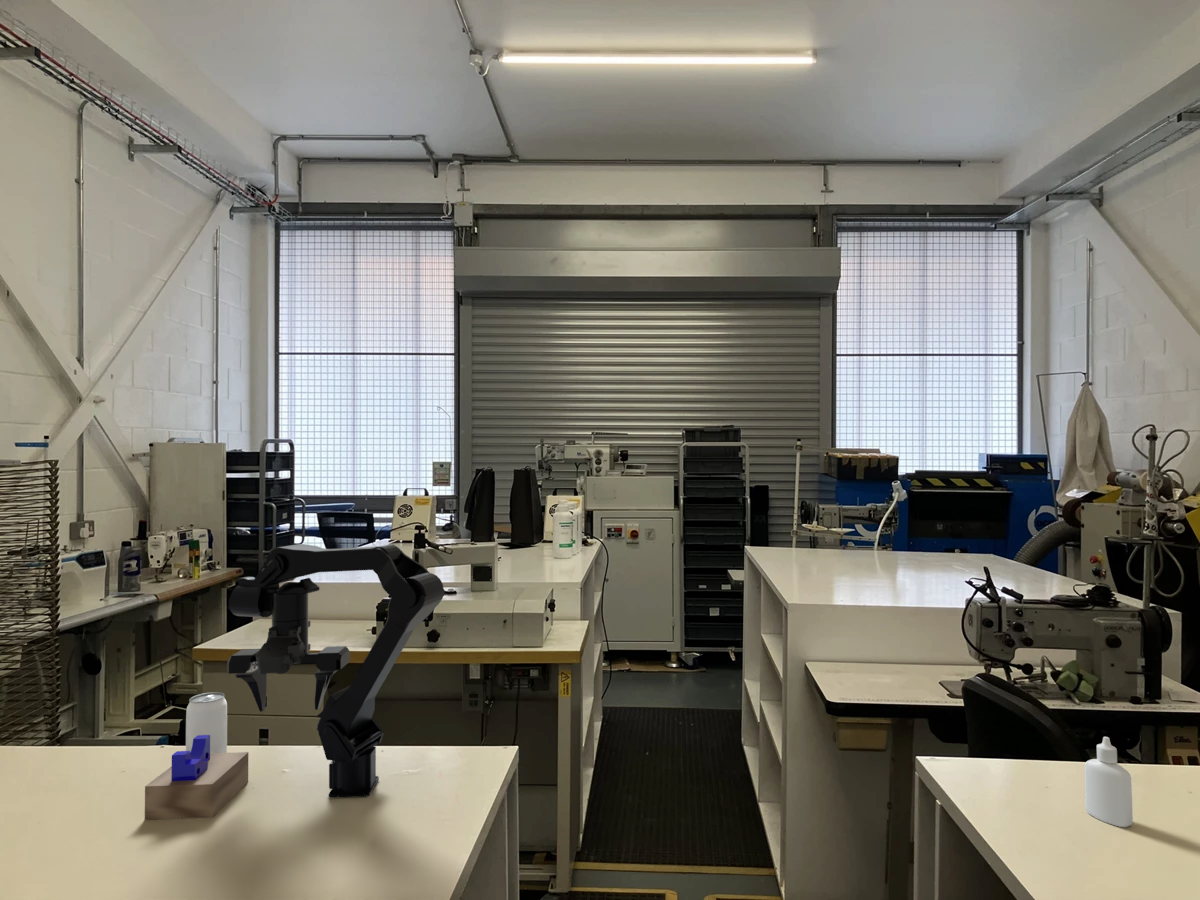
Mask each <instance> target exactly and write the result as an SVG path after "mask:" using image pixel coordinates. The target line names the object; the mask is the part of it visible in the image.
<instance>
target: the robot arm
mask: <svg viewBox="0 0 1200 900" xmlns="http://www.w3.org/2000/svg"><path fill="white" fill-rule="evenodd" d="M355 571H373V572H374V573H375V574H376V575H377V577H378V580H379V582H380V584H381V587H382V589H383V590H384V591H385V592H386V593H387V594H388V595H389V597H390V600H389V602H388V605H387V619H386V622H385V624H384V625H383V627H382V629H381V631H380V632H379V634H378V636H377V638H376V639H375V641H374V643H373V644H372V647H371V648H370V650H369V652H368V653H367V656H366V657H365V659H364V660H363V662H362V663H361V666H360V668H359V669H358V671H357V672H356V674H355V676H354V678H353V679H352V682H351V683H350V685H349V686H347V687H345V688H343V689H341V690H339V691H337V692H335V693H333V694H331V695H330V696H328V697H327V700H326V702H325V705H324V707H323V709H322V710H321V712H320V713H319V714H318V715H317V718H319V719H318V722H317V725H316V731H318V736H319V738H320V743H321V745H322V749H323V752H324V755H325V758H326V760H327V761H331V762H330V763H329V764H328V788H329V790H330V791H329V793H328V798H331V799H332V798H355V797H363V798H364V797H368V796H370V795H371V793H372V792H373V789H374V788H375V786H376V785H377V783H378V781H379V778H380V777H379V776H378V775H377V772H376V771H377V770H376V769H377V767H376V766H377V765H376V764H377V761H376V759H377V757H376V755H377V754H376V753H377V749H376V748H377V747H376V745H378V744H381V742H382V740H383V736H384V734H385V733H384V731H385V730H383V728H382V727H381V726H380V725H379V724H378V723H377V721H376V720H375V719H374V717H373V715H374V713H375V710H376V709H375V708H376V707H375V706H376V701H375V700H376V696H377V694H378V692H379V691H380V689H381V688H382V685H383V684H384V682H385V681H386V679H387V677H388V675H390V674H389V673H390V672H391V670H392V668H393V667H394V665H395V663H396V662H397V659H398V658H399V656H400V655H401V653H402V651H403V649H404V647H405V646H406V644H407V642H408V640H409V639H410V637H411V636H412V634H413V632H414V630H415V629H416V627H418V626H419V625H420V624H421V623H422V622H423V621H424V620H426V618H427V617H429V615H430V614H432V612H433V611H434V610H435V609H436V608H437V606H439V604H440V603H441V602H442V601H443V598H444V596H445V593H446V592H445V588H444V584H443V582H442V579H441V578H440V577H439V576H438V575H436V574H434V573H432V572H430V571H429V570H428V569H427V568H426V567H425V566H424V565H423V564H421V563H419V562H418V561H416V560H415V559H413V558H411V556H408V555H407V554H405V553H404V551H403V550H401V548H399V547H398V546H397V545H395V544H384V545H379V546H366V547H365V546H364V547H363V546H362V547H345V548H341V547H340V548H324V547H321V546H317V545H311V544H307V543H306V544H305V543H299V544H298V543H297V544H291V545H285V546H278V547H274V548H271V549H270V551H269V553H268V554H267V557H266V559H265V561H264V564H263V566H262V567H261V568H260V570H259V571H258V572H257V574H256V576H255V577H254V576H244V577H239V578H238V582H237V583H238V585H237V586H235V587H234V588H233V590H232V592H231V594H230V597H229V598H228V608H229V611H230V612H231V613H232V615H234V616H237V617H251V618H253V617H254V618H269V617H271V627H269V628H268V632H267V639H266V641H265V642H264V643H263V644H262V646H261V647H260V648H242V649H241V650H239V651H237V652H236V653H235V652H234V653H233V654H232V655H231V656H229V658H228V660H227V663H226V673H227V674H229V675H230V674H235V675H234V676H235V678H237V679H241V680H243V681H244V682H245V683H246V684H247V685H248V687H249V689H250V690H251V691H250V692H251V693H252V695H253V697H254V701H255V703H256V705H257V708H258V711H259V712H264V711H266V704H267V674H279V675H282V674H286V673H287V672H289V671H290V669H291V666H296V665H297V666H298V665H315V667H316V668H317V669H318V670H317V671H316V672H314V676H315V693H314V710H315V711H318V710H319V709H320V708H321V705H322V702H323V699H324V697H325V694H326V692H327V689H328V686H329V684H330V682H331V680H332V678H333V675H334V674H336V673H337V672H338V671H340V670H342V669H343V668H345V666H346V665H348V664H349V663H350V662H351V652H350V650H349V648H348V646H346V645H345V646H343V645H342V646H341V645H339V646H338V645H337V646H326V647H324V648H323V649H322V650H321V651H319V652H309V651H310V650H311V643H309V628H310V627H311V620H309V594H311V593H315V592H319V591H320V586H318V585H317V584H316V583H315V582H313V580H312V579H311V578H310V577H307V576H310V575H315V574H317V573H330V572H333V573H334V572H355ZM302 577H307V578H302ZM297 578H302V579H300V580H299V581H298V582H297V581H294V580H296V579H297ZM293 581H294V582H293ZM282 583H283V584H282ZM280 584H282V585H281V586H280Z"/></svg>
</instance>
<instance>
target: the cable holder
mask: <svg viewBox="0 0 1200 900" xmlns="http://www.w3.org/2000/svg"><path fill="white" fill-rule="evenodd" d="M208 760H210V735H198V736H196V737H195V738H194V739H193V745H192V749H191V752H190V751H186V750H179V751H175V752H174V753H173V754H171V766H172V779H171V781H188V780H196V779H197V778H198V777H199V776H200V775H202V774H203V773H204V772H205V771H206V770H207V769H208Z"/></svg>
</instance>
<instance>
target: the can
mask: <svg viewBox="0 0 1200 900" xmlns="http://www.w3.org/2000/svg"><path fill="white" fill-rule="evenodd" d="M188 701H189V703H188V705H187V707H186V710H185V711H186V712H185V713H186V714H185V717H186V718H185V751H190V752H191V749H192V745H193V739H194V738H195V737H196V736H198V735H210V753H228V702H227V700H226V698H225V693H224V692H217V691H215V692H214V691H213V692H211V691H210V692H206V693H205V692H204V693H199V694H197V695H194V696H192V697H190V698H189V700H188Z"/></svg>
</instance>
